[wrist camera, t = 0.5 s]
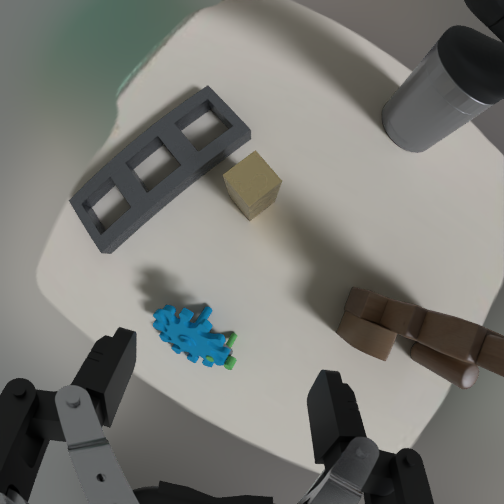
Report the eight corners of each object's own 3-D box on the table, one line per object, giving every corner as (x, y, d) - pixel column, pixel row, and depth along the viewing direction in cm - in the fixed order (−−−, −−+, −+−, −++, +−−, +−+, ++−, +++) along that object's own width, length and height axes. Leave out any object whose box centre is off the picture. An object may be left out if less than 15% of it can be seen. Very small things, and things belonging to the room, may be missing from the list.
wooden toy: (332, 334, 38) (434, 423, 13) (351, 286, 38) (481, 315, 13) (422, 363, 38) (541, 431, 13) (439, 320, 38) (571, 359, 13)
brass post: (254, 177, 39) (255, 150, 29) (274, 201, 39) (282, 181, 29) (229, 196, 39) (222, 175, 29) (249, 221, 39) (249, 207, 29)
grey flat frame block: (210, 96, 39) (207, 85, 36) (250, 139, 39) (250, 130, 36) (79, 204, 39) (69, 200, 36) (111, 253, 38) (101, 253, 35)
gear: (141, 330, 37) (163, 300, 30) (165, 299, 41) (192, 264, 34) (209, 381, 38) (249, 365, 31) (228, 348, 42) (268, 324, 35)
